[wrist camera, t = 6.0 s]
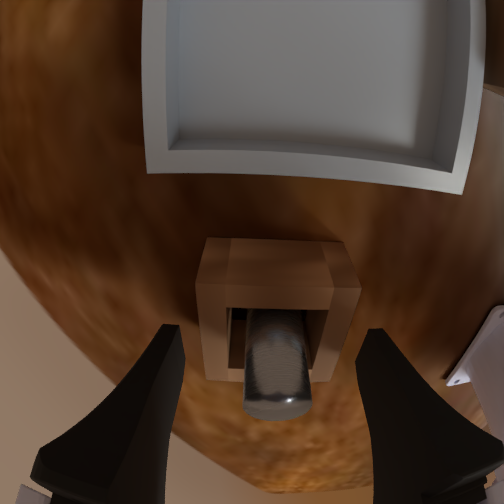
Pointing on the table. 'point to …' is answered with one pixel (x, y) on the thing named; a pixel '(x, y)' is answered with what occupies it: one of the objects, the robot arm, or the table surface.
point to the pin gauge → (275, 365)
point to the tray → (314, 88)
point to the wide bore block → (274, 298)
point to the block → (494, 47)
